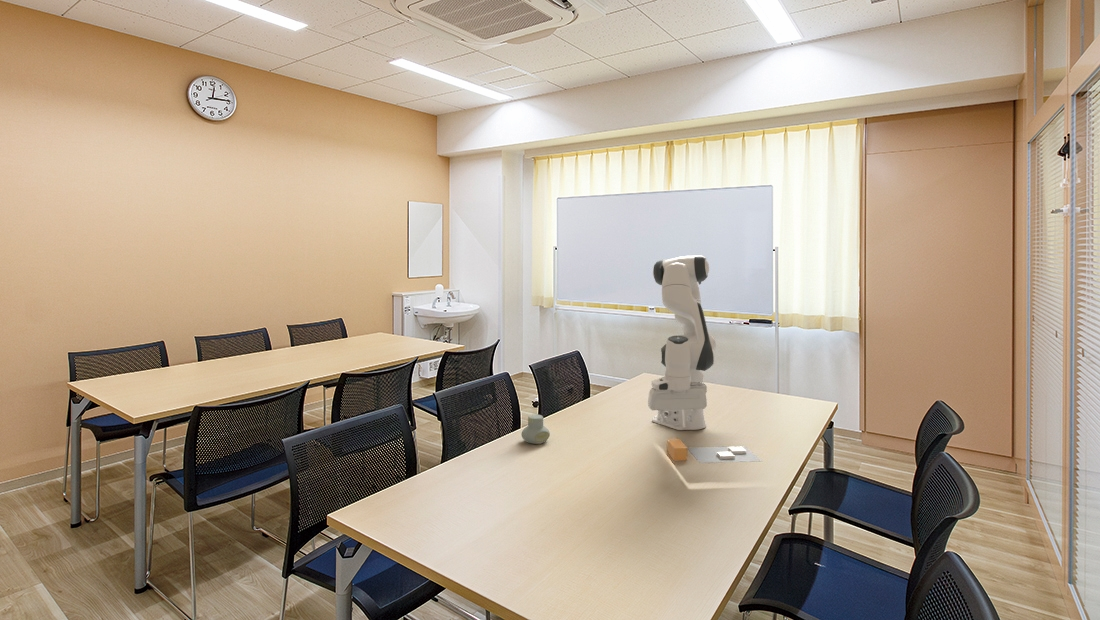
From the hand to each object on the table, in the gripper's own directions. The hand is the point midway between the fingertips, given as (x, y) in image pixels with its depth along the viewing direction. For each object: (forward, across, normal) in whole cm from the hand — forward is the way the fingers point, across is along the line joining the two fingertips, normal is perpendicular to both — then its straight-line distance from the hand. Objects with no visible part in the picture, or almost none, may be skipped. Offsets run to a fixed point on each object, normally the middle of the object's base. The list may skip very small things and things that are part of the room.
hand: (677, 421), depth 192 cm
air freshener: (+13, +49, -21) cm, 55 cm away
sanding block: (+14, 0, 0) cm, 14 cm away
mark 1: (+13, -17, +2) cm, 21 cm away
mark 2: (+13, -23, -3) cm, 26 cm away
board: (+14, -17, 0) cm, 22 cm away
